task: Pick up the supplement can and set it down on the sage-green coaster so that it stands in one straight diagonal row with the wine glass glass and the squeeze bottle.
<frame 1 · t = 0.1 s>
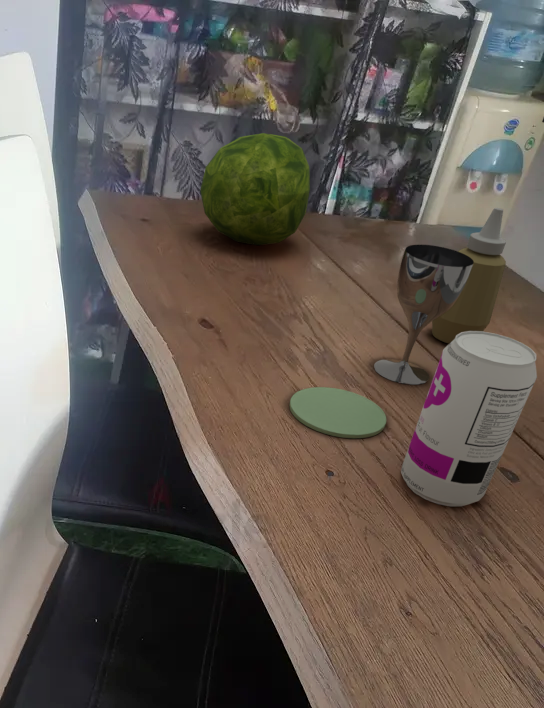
coaster: (337, 413, 84), on the table
wine glass: (400, 373, 95), on the table
lettuce: (247, 239, 136), on the table
squeeze bottle: (451, 339, 106), on the table
supplement can: (439, 487, 74), on the table
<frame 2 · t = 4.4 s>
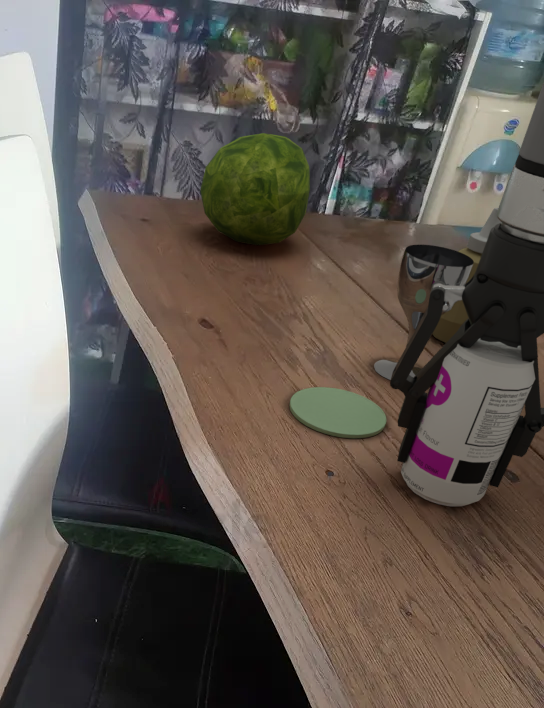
hand: (447, 467, 73), 2 cm above the table, tool pointing down, fingers closed on supplement can, 8 cm apart
supplement can: (439, 487, 74), on the table, touching gripper
everything else where it was.
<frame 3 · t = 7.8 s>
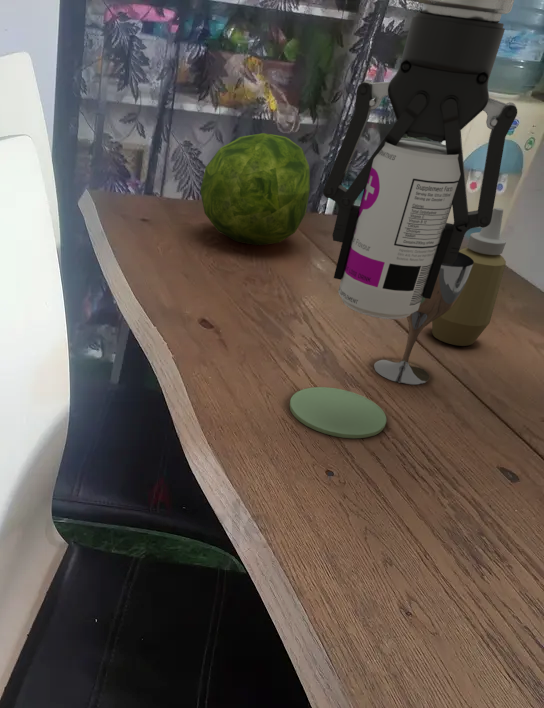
hand: (382, 284, 74), 16 cm above the table, tool pointing down, fingers closed on supplement can, 8 cm apart
supplement can: (375, 307, 76), point 13 cm above the table, touching gripper
everything else where it was.
when the fingers open (3 cm above the table, at t = 11.1 s): supplement can stays where it is, resting on coaster.
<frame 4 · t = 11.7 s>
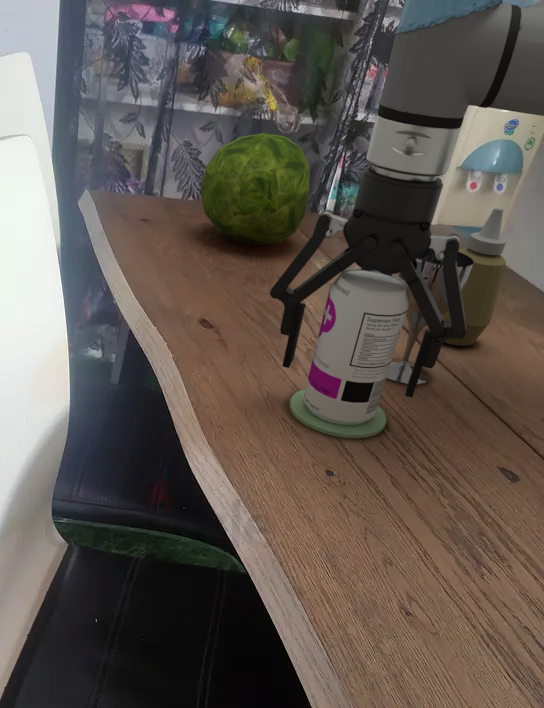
hand: (347, 377, 81), 5 cm above the table, tool pointing down, fingers open, 13 cm apart
supplement can: (337, 411, 84), resting on coaster
everything else where it was.
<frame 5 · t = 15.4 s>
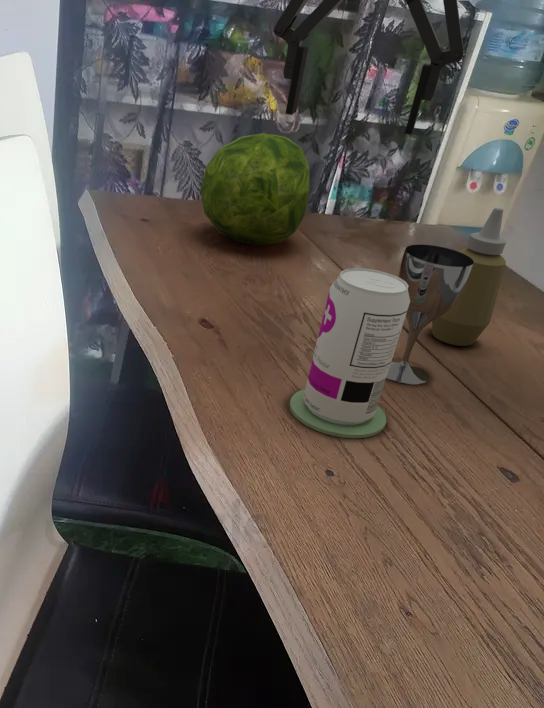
hand: (348, 122, 84), 27 cm above the table, tool pointing down, fingers open, 13 cm apart
nothing on the table moved.
at the end: supplement can 0.0 cm from the target spot on the table beside the wine glass, point 0.5 cm above the table; supplement can 0.0 cm from the target spot on the table beside the squeeze bottle, point 0.5 cm above the table; supplement can tilted 0° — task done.
